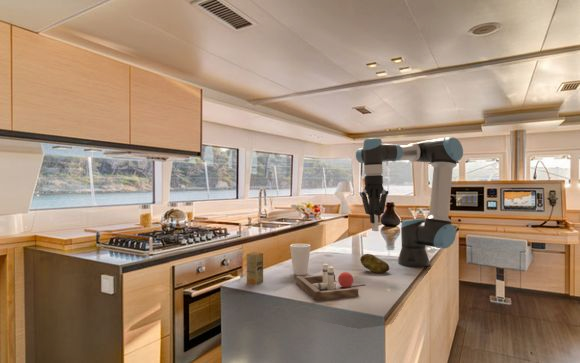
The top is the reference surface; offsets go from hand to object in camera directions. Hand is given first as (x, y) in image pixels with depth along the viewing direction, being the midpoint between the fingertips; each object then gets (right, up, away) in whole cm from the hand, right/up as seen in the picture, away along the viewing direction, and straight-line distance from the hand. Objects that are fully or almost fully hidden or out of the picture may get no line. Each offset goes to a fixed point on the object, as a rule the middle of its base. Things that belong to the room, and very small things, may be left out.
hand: (375, 230), depth 143 cm
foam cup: (-31, -22, +14) cm, 41 cm away
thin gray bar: (-9, -22, -6) cm, 24 cm away
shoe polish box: (-51, -22, 0) cm, 55 cm away
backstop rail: (-22, -22, -10) cm, 32 cm away
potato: (+4, -22, +16) cm, 28 cm away
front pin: (-18, -20, -9) cm, 29 cm away
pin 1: (-22, -22, -8) cm, 31 cm away
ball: (-14, -19, -8) cm, 24 cm away
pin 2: (-20, -21, -12) cm, 32 cm away
